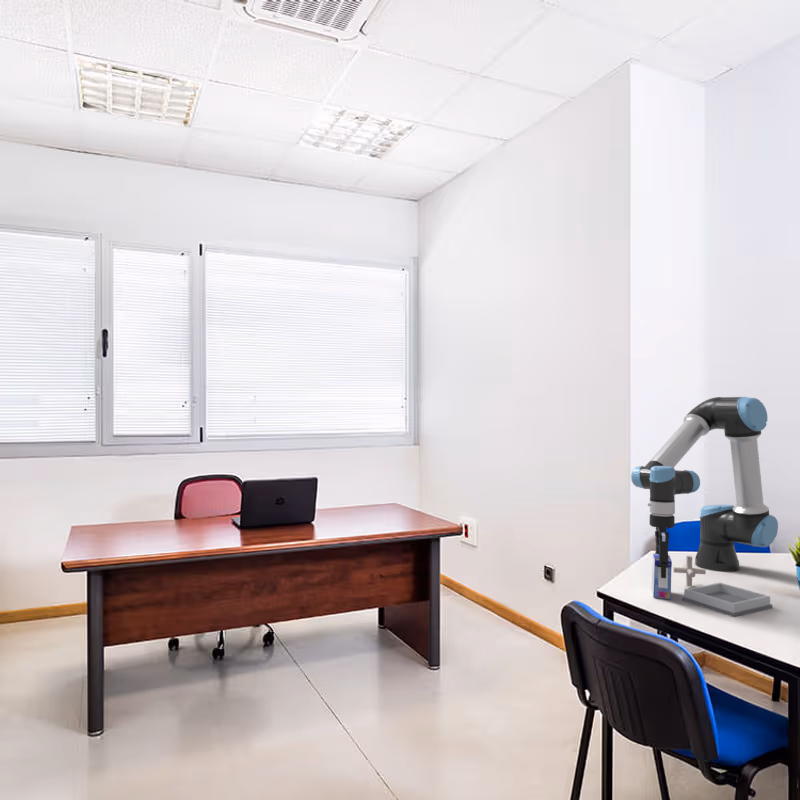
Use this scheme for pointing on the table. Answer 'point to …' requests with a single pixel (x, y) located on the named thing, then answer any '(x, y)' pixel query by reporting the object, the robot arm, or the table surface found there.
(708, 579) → the table surface
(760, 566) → the table surface
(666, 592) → the ink cartridge box
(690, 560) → the pipe connector
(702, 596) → the cartridge dock
